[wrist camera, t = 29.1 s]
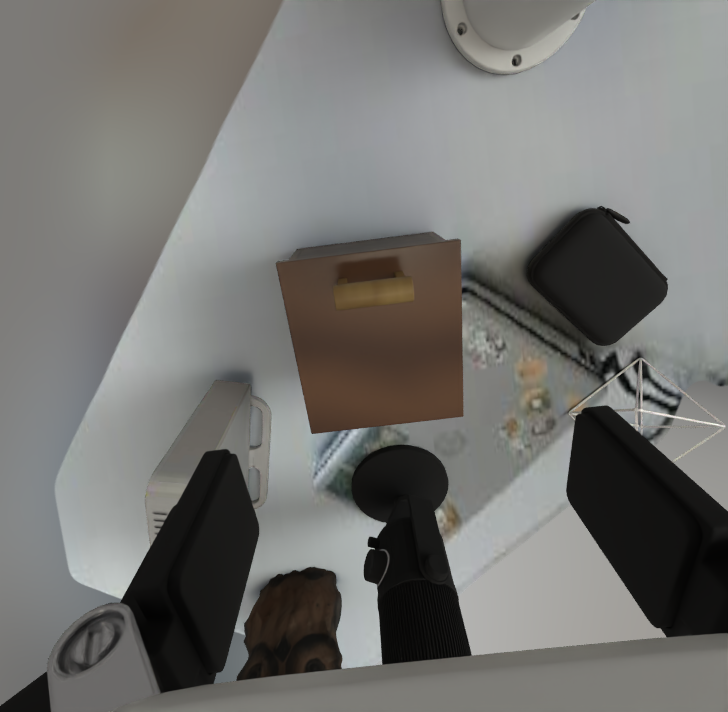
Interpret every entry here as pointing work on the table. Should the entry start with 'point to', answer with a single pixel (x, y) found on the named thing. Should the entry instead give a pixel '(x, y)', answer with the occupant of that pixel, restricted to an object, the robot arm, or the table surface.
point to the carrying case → (598, 276)
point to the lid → (377, 334)
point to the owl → (294, 626)
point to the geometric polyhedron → (655, 412)
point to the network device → (210, 448)
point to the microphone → (410, 555)
